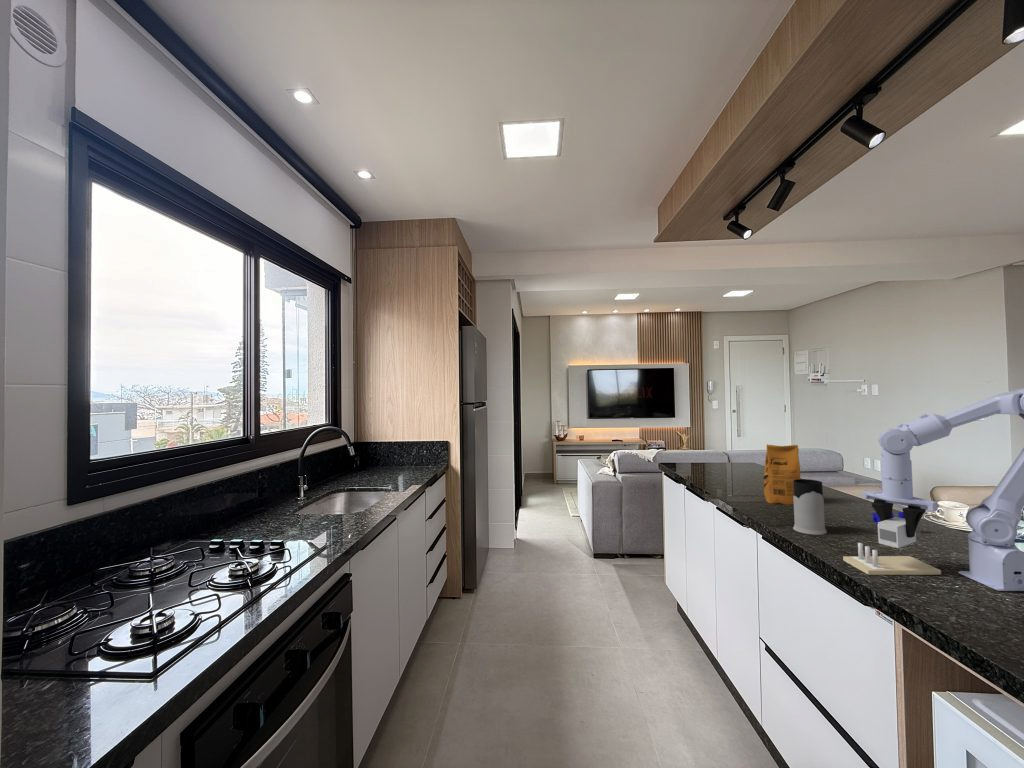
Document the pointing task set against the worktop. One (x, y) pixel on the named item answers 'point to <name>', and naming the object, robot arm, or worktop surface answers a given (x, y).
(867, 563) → the board
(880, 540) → the plug housing
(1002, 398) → the robot arm
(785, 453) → the coffee package
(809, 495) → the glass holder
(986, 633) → the worktop surface
